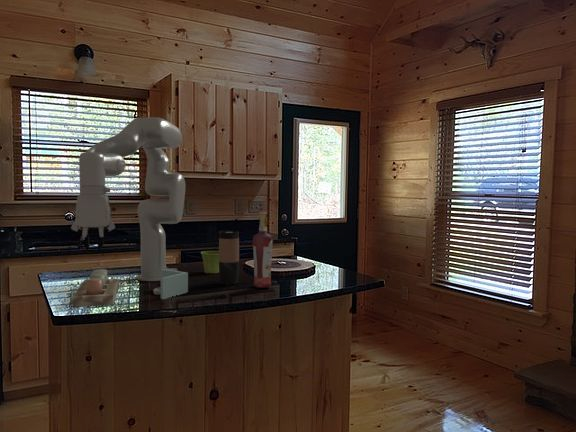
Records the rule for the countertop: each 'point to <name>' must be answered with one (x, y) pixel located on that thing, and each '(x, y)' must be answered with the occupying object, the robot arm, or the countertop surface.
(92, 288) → the brown egg
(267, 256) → the liquor
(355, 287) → the countertop surface
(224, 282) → the travel mug
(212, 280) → the countertop surface
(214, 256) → the plant pot
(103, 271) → the beige egg
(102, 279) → the pale green egg
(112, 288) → the wooden rectangular frame
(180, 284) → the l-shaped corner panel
